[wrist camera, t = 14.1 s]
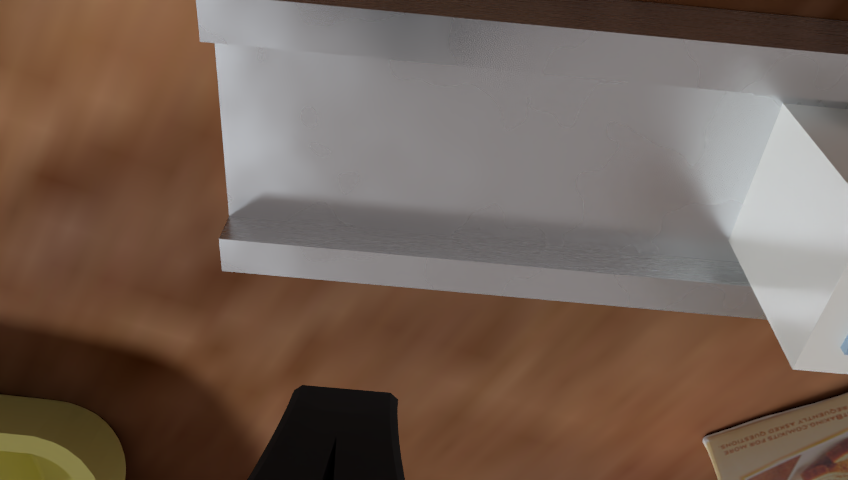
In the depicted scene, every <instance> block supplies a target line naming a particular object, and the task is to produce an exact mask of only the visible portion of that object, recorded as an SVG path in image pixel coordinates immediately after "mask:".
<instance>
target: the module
mask: <svg viewBox="0 0 848 480" xmlns="http://www.w3.org/2000/svg"><path fill="white" fill-rule="evenodd" d="M728 241H729V243H730V245H731V247H732V249H733V251H734V253H735V255H736V257H737V259H738V261H739V263H740V265H741V267H742V269H743V271H744V273H745V275H746V277H747V279H748V281H749V283H750V285H751V287H752V289H753V291H754V293H755V295H756V297H757V299H758V301H759V303H760V305H761V307H762V309H763V311H764V313H765V315H766V317H767V319H768V321H769V323H770V325H771V327H772V329H773V331H774V333H775V335H776V337H777V339H778V341H779V343H780V345H781V347H782V349H783V351H784V353H785V355H786V357H787V359H788V361H789V363H790V365H791V367H792V369H794V370H805V371H816V372H828V373H839V374H848V109H839V108H829V107H818V106H807V105H797V104H786V103H783V104H782V107H781V109H780V112H779V114H778V117H777V119H776V122H775V124H774V127H773V129H772V132H771V134H770V137H769V139H768V142H767V145H766V147H765V150H764V152H763V155H762V157H761V160H760V162H759V165H758V167H757V170H756V172H755V175H754V177H753V180H752V182H751V185H750V187H749V190H748V193H747V195H746V198H745V200H744V203H743V205H742V208H741V210H740V213H739V215H738V218H737V220H736V223H735V225H734V228H733V230H732V233H731V235H730V238H729V240H728Z"/></svg>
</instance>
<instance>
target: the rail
mask: <svg viewBox="0 0 848 480" xmlns="http://www.w3.org/2000/svg"><path fill="white" fill-rule="evenodd" d="M196 5H197V15H198V26H199V36H200V42H210V43H215V53H216V65H217V77H218V89H219V101H220V112H221V124H222V136H223V148H224V160H225V172H226V184H227V195H228V207H229V218H228V220H227V222H226V224H225V226H224V229H223V231H222V233H221V235H220V238H219V245H220V255H221V265H222V271H229V272H240V273H251V274H262V275H274V276H285V277H296V278H307V279H319V280H330V281H341V282H352V283H363V284H375V285H386V286H397V287H408V288H419V289H431V290H442V291H453V292H464V293H476V294H487V295H498V296H509V297H520V298H532V299H543V300H554V301H565V302H576V303H588V304H599V305H610V306H621V307H633V308H644V309H655V310H666V311H677V312H689V313H700V314H711V315H722V316H734V317H745V318H756V319H767V317H766V315H765V313H764V311H763V309H762V307H761V305H760V303H759V301H758V299H757V297H756V295H755V293H754V291H753V289H752V287H751V285H750V283H749V281H748V279H747V277H746V275H745V273H744V271H743V269H742V267H741V265H740V263H739V261H738V259H737V257H736V255H735V253H734V251H733V249H732V247H731V245H730V243H729V241H728V240H729V238H730V235H731V233H732V230H733V228H734V225H735V223H736V220H737V218H738V215H739V213H740V210H741V208H742V205H743V203H744V200H745V198H746V195H747V193H748V190H749V187H750V185H751V182H752V180H753V177H754V175H755V172H756V170H757V167H758V165H759V162H760V160H761V157H762V155H763V152H764V150H765V147H766V145H767V142H768V139H769V137H770V134H771V132H772V129H773V127H774V124H775V122H776V119H777V117H778V114H779V112H780V109H781V107H782V104H783V103H786V104H797V105H807V106H818V107H829V108H839V109H848V21H840V20H830V19H819V18H809V17H798V16H788V15H777V14H767V13H757V12H746V11H736V10H725V9H715V8H704V7H694V6H683V5H673V4H662V3H652V2H642V1H631V0H196ZM767 320H768V319H767Z"/></svg>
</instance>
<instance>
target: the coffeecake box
mask: <svg viewBox="0 0 848 480" xmlns="http://www.w3.org/2000/svg"><path fill="white" fill-rule="evenodd" d="M703 443H704V445H705V447H706V449H707V451H708V453H709V456H710V458H711V461H712V464H713V466H714V469H715V472H716V475H717V478H718V480H848V393H845V394H842V395H839V396H836V397H832V398H829V399H825V400H822V401H819V402H816V403H813V404H809V405H805V406H801V407H797V408H794V409H790V410H787V411H784V412H780V413H776V414H772V415H768V416H765V417H762V418H758V419H755V420H752V421H749V422H746V423H744V424H741V425H738V426H735V427H732V428H729V429H726V430H723V431H720V432H717V433H714V434H711V435H707V436H705V437H704V438H703Z"/></svg>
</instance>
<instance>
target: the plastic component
mask: <svg viewBox="0 0 848 480" xmlns="http://www.w3.org/2000/svg"><path fill="white" fill-rule="evenodd" d="M125 476H126V462H125V455H124V452H123V449H122V446H121V443H120V441H119V439H118V437H117V436H116V434H115V433H114V431H113V430H112V429H111V427H110V426H109V425H108V424H107V423H106V422H105V421H104V420H103V419H102V418H101V417H99V416H98V415H97V414H95V413H93V412H91V411H89V410H87V409H85V408H83V407H80V406H78V405H75V404H72V403H68V402H63V401H57V400H48V399H39V398H30V397H21V396H11V395H2V394H0V480H125Z"/></svg>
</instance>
